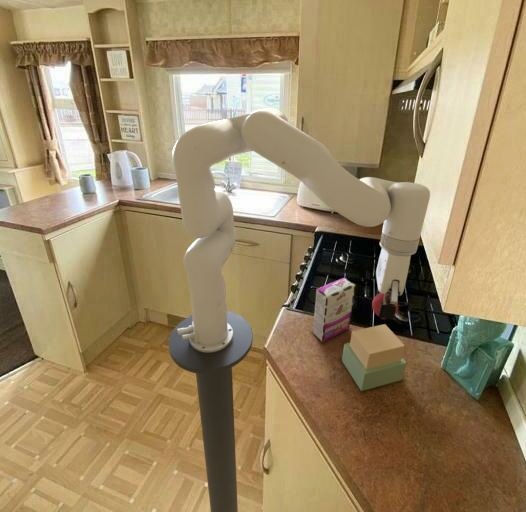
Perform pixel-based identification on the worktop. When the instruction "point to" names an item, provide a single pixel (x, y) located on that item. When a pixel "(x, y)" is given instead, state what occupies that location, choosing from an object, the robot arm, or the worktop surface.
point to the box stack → (374, 357)
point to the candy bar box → (333, 309)
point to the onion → (377, 303)
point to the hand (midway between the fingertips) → (384, 308)
